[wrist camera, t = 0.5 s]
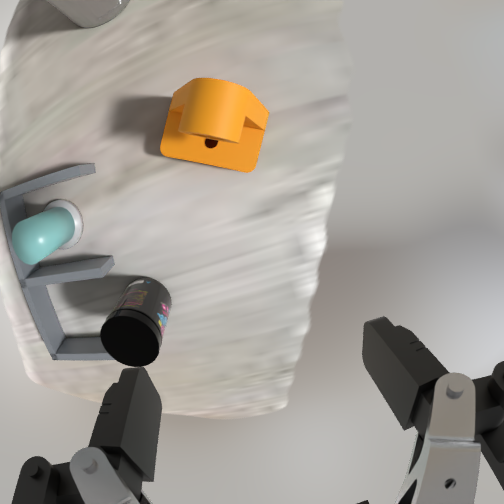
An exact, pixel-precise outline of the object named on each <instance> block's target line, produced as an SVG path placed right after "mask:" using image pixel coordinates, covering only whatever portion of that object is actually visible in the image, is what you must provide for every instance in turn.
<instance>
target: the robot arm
mask: <svg viewBox="0 0 504 504" xmlns="http://www.w3.org/2000/svg"><path fill="white" fill-rule="evenodd" d="M46 1H48V2H49V3H50V4H52V5H53V6H54V7H55V8H57V9H58V10H59V11H60V12H62V13H63V14H64V15H65V16H66V17H68V18H69V19H70V20H71V21H73V22H74V23H75V24H77V25H78V26H80V27H84V28H90V27H96V26H99V25H102V24H104V23H106V22H108V21H110V20H111V19H113V18H114V17H116V16H117V15H118V14H119V13H120V12H121V11H122V10H123V9H124V8H125V7H126V5H127V4H128V2H129V0H46ZM362 355H363V356H362V357H363V362H364V365H365V368H366V369H367V371H368V372H369V374H370V375H371V377H372V379H373V380H374V382H375V384H376V385H377V387H378V389H379V390H380V392H381V393H382V395H383V397H384V398H385V400H386V402H387V403H388V405H389V406H390V408H391V410H392V411H393V413H394V415H395V416H396V418H397V420H398V421H399V423H400V425H401V426H402V428H403V429H404V430H406V429H409V428H411V427H413V426H415V428H416V429H417V434H416V438H415V442H414V446H413V451H412V455H411V459H410V462H409V466H408V470H407V473H406V477H405V480H404V482H403V485H402V487H401V489H400V491H399V494H398V496H397V499H396V501H395V504H474V499H475V493H476V487H477V480H478V473H479V464H480V454H481V452H482V453H483V455H484V457H485V459H486V460H487V462H488V463H489V465H490V467H491V469H492V470H493V472H494V474H495V476H496V477H497V479H498V481H499V483H500V485H501V486H502V488H503V490H504V361H502V362H500V363H498V364H497V365H496V366H495V368H494V371H493V373H492V375H490V376H486V377H482V378H478V379H474V380H471V379H470V378H469V377H467V376H466V375H464V374H460V373H449V372H448V371H447V370H446V368H445V367H444V366H443V365H442V364H441V363H440V362H439V361H438V360H437V358H436V357H435V356H434V355H433V354H432V353H431V352H430V351H429V350H428V348H426V347H425V345H424V344H423V343H422V342H421V341H419V339H418V338H417V337H416V336H415V335H414V333H413V332H412V331H410V330H408V329H406V328H404V327H402V326H396V327H395V326H394V325H393V324H392V323H391V322H390V321H389V320H388V319H387V318H386V317H384V316H383V317H380V318H377V319H374V320H370V321H367V322H365V324H364V332H363V350H362ZM161 412H162V404H161V399H160V396H159V394H158V392H157V390H156V388H155V386H154V385H153V383H152V381H151V379H150V377H149V375H148V373H147V371H146V369H145V368H144V367H136V368H126V369H123V370H122V372H121V375H120V378H119V382H118V383H113V384H112V386H111V387H110V388H109V389H108V390H107V392H106V393H105V396H104V399H103V402H102V406H101V408H100V411H99V415H98V417H97V420H96V423H95V426H94V430H93V433H92V436H91V439H90V443H89V446H88V447H87V448H83V449H81V450H79V451H78V452H76V454H74V456H73V457H72V459H71V461H70V462H67V463H62V464H56V465H51V464H50V463H49V462H48V461H47V460H46V459H45V458H43V457H40V456H35V457H32V458H30V459H28V460H27V461H26V462H25V463H24V465H23V466H22V469H21V472H20V475H19V479H18V482H17V486H16V489H15V493H14V496H13V500H12V504H153V503H152V502H151V501H150V499H149V498H148V497H147V495H146V494H145V493H144V491H143V490H142V481H147V482H153V481H154V470H155V462H156V461H155V460H156V453H157V444H158V435H159V428H160V420H161ZM357 504H369V502H368V500H366V501H363V502H360V503H357Z"/></svg>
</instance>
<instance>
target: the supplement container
mask: <svg viewBox="0 0 504 504" xmlns="http://www.w3.org/2000/svg"><path fill="white" fill-rule="evenodd" d="M171 305H172V302H171V297H170V294H169V292H168V290H167V289H166V288H165V287H164V286H163V285H162V284H161V283H160V282H158V281H156V280H154V279H150V278H140V279H137V280H134V281H133V282H131V283H130V284H129V285H128V286H127V288H126V290H125V291H124V293H123V294H122V296H121V297H120V299H119V301H118V302H117V304H116V305H115V307H114V308H113V310H112V312H111V313H110V315H109V316H108V317H107V319H106V321H105V323H104V324H103V326H102V328H101V333H100V337H101V342H102V345H103V347H104V348H105V350H106V351H107V353H108V354H109V355H110V356H111V357H112V358H114V359H115V360H117V361H118V362H120V363H122V364H125V365H128V366H133V367H142V366H146V365H149V364H150V363H152V362H153V361H154V360H155V359H156V358H157V356H158V354H159V350H160V347H161V344H162V338H163V334H164V331H165V327H166V324H167V320H168V317H169V313H170V310H171Z"/></svg>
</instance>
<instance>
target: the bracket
mask: <svg viewBox="0 0 504 504" xmlns="http://www.w3.org/2000/svg"><path fill="white" fill-rule="evenodd" d="M268 116H269V111H268V110H267V109H266V108H265V107H264V106H263V105H262V103H261V102H260V101H259V100H258V99H257V98H256V97H255V96H254V95H253V94H252V92H251V91H250V90H248V89H247V88H245V87H243V86H240V85H238V84H235V83H232V82H228V81H224V80H219V79H212V78H196V79H193V80H191V81H190V82H188V83H187V84H185V85H184V86H183V87H181V88H180V89H178V90H177V91H176V92H174V94H173V97H172V101H171V105H170V108H169V112H168V116H167V120H166V124H165V128H164V132H163V137H162V141H161V146H160V150H161V153H162V154H163V155H164V156H167V157H172V158H178V159H183V160H188V161H193V162H199V163H204V164H209V165H213V166H218V167H223V168H228V169H232V170H237V171H241V172H246V173H248V172H251V171H253V170H254V169H255V167H256V163H257V159H258V155H259V151H260V147H261V143H262V139H263V135H264V131H265V128H266V124H267V120H268ZM207 138H208V139H213V140H218V144H217V146H216V147H214V148H207V147H206V145H205V141H206V139H207Z"/></svg>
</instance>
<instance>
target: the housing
mask: <svg viewBox="0 0 504 504" xmlns="http://www.w3.org/2000/svg"><path fill="white" fill-rule="evenodd" d="M92 173H96V171H95V165H94V163H93V164H83V165H77V166H74V167H70V168H67V169H64V170H61V171H57V172H54V173H51V174H48V175H45V176H42V177H39V178H36V179H34V180H31V181H28V182H25V183H23V184H20V185H17V186H15V187H12V188H9V189H7V190H4V191H2V192H0V209H1V214H2V219H3V224H4V228H5V232H6V236H7V240H8V244H9V248H10V252H11V255H12V259H13V262H14V265H15V269H16V272H17V275H18V278H19V281H20V284H21V287H22V290H23V292H24V295H25V298H26V300H27V303H28V306H29V308H30V311H31V313H32V316H33V318H34V320H35V323H36V325H37V327H38V330H39V332H40V334H41V336H42V339H43V341H44V343H45V345H46V347H47V349H48V351H49V353H50V355H51V357H52V359H53V360H115V359H114V358H112V357H111V356H110V355H109V354H108V353H107V351H106V350H105V348H104V347H103V345H102V342H101V337H86V338H66V336H65V334H64V332H63V330H62V327H61V325H60V322H59V320H58V317H57V315H56V312H55V310H54V307H53V305H52V302H51V299H50V296H49V294H48V291H47V288H46V285H49V284H56V283H64V282H72V281H79V280H87V279H94V278H102V277H104V276H105V275H106V274H107V272H108V271H109V270H110V269H111V268H112V267H113V266H114V265H115V264H114V260H113V256H108V257H102V258H95V259H89V260H83V261H77V262H71V263H64V264H58V265H52V266H46V267H41V268H40V266H39V263H38V262H39V261H40V260H42V259H43V258H45V257H46V256H48V255H49V254H51V253H52V252H54V251H55V250H57V249H68V248H70V247H72V246H73V245H75V244H76V243H77V242H78V241H79V239H80V238H81V235H82V232H83V219H82V215H81V213H80V211H79V209H78V208H77V207H76V205H74V204H73V203H72V202H70V201H68V200H64V199H60V200H56V201H54V202H51V203H50V204H49V205H47V207H46V208H45V209H44V211H43V212H42V213H39V214H37V215H34V216H32V217H29V218H27V216H26V211H25V206H24V201H23V194H26V193H29V192H32V191H35V190H38V189H41V188H44V187H47V186H50V185H53V184H57V183H60V182H63V181H67V180H70V179H74V178H77V177H81V176H85V175H88V174H92Z"/></svg>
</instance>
